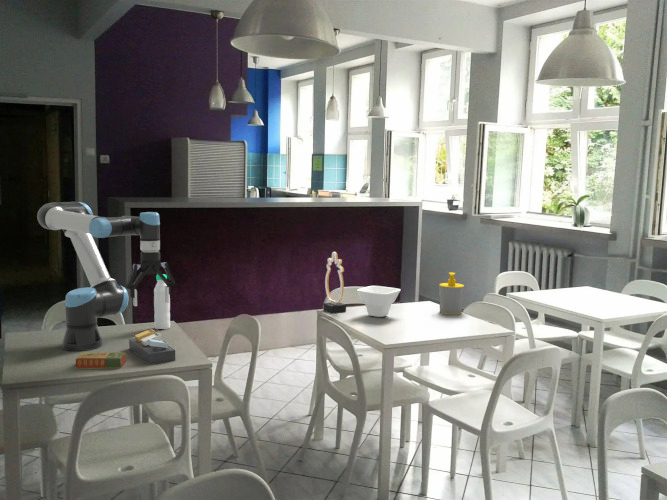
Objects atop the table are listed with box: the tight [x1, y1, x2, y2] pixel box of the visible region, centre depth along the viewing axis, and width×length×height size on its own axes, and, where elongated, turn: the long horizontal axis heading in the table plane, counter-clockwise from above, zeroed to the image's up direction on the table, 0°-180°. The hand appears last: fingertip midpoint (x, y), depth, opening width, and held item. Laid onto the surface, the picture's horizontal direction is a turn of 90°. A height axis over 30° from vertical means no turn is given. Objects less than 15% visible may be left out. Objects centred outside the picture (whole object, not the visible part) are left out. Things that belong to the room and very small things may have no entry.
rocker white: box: [141, 332, 163, 346], centre depth 241 cm, size 7×4×2 cm, turn 125°
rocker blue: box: [147, 339, 170, 348], centre depth 235 cm, size 7×4×2 cm, turn 125°
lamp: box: [322, 251, 347, 314], centre depth 325 cm, size 17×9×32 cm, turn 31°
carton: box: [75, 352, 127, 370], centre depth 227 cm, size 8×16×4 cm, turn 95°
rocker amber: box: [134, 328, 156, 341], centre depth 247 cm, size 7×4×2 cm, turn 125°
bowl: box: [356, 285, 401, 318], centre depth 315 cm, size 19×19×14 cm
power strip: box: [128, 337, 176, 365], centre depth 245 cm, size 10×33×5 cm, turn 35°
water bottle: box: [153, 273, 171, 330], centre depth 283 cm, size 7×7×25 cm
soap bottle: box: [438, 272, 465, 315], centre depth 328 cm, size 13×13×21 cm
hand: (151, 304), depth 248 cm, fingers open, 12 cm apart
